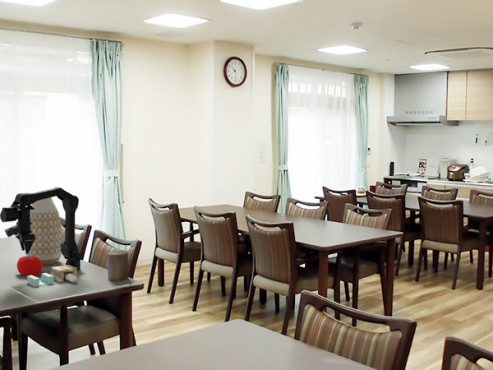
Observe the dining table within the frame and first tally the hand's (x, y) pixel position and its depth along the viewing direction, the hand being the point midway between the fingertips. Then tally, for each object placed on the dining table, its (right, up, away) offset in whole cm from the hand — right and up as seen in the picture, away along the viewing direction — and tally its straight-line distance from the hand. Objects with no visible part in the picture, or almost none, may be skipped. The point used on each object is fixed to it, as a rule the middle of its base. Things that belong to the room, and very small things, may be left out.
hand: (25, 252), depth 260 cm
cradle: (+9, -15, -5) cm, 18 cm away
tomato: (-2, -13, +12) cm, 18 cm away
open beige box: (+17, -14, +4) cm, 22 cm away
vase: (-5, -11, +39) cm, 41 cm away
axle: (+20, -13, +1) cm, 24 cm away
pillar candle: (+43, -14, +6) cm, 46 cm away
